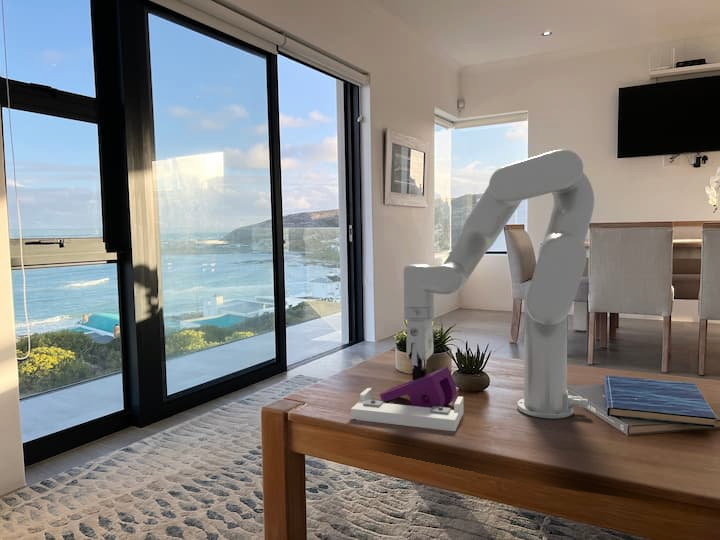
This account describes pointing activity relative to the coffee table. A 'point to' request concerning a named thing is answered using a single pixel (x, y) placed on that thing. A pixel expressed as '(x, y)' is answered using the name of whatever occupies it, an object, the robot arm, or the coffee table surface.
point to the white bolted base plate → (407, 413)
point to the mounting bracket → (426, 390)
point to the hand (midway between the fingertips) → (419, 384)
